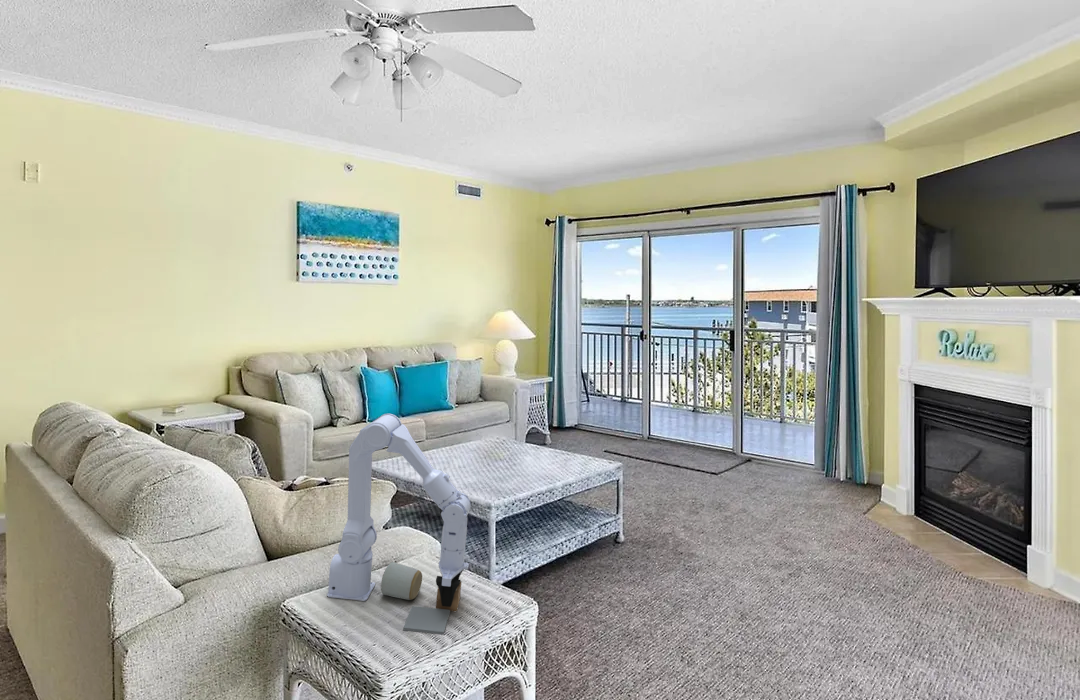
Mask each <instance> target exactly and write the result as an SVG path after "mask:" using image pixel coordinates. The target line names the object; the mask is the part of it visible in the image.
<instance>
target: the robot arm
mask: <svg viewBox="0 0 1080 700" xmlns="http://www.w3.org/2000/svg"><path fill="white" fill-rule="evenodd" d="M387 447H388V448H387ZM384 448H387V449H386V450H385V452H388V453H395V454H400V455H401V456H402V458H404V459H405V460H406V462H407V464H409V465H410V466H411V467H412V469H414V471H416V473H417V474H418V475H419V476H420V477H421V478H422V483H421V485H422V486H421V487H422V488H423V490H424V491H425V492H426V493H427V495H429V497H430V498H431V499H432V501H433V502H434V504H436V506H437V507H438V508H439V509H441V512H440V515H441V518H442V520H443V526H442V533H441V542H440V543H441V545H440V556H439V562H438V569H439V572H440V574H441V575H437V576H436V577H435V585H436V586H437V589H438V588H439V591H440V596H441V603H442V606H446V607H451V605H452V601H453V598H454V594H455V591H456V589H457V587H458V586H459V584H460V581H462V580H461V579H460V577H461V575H462V573H463V571H464V570H468V569H469V563H468V562H465V553H466V543H467V532H468V527H467V526H468V514H469V513H470V510H471V506H472V505H471V500H470V499H469V497H468V495H467V494H466V493H464V492H462V491H461V490H458V489H457V487H455V485H454V484H453V483H452V481H451V480H450V477H451V476H450V475H449V473H447V472H446V473H444V471H443V470H442V469H441V470H440V469H435V468H434V467H433V466H432V464H431V463H430V460H429V459H428V458H427V457H426V455H425V454H424V453H423V451H422V449H421V448H420V447H419V445H418V443H416V442H415V440H414V438H413V437H412V435H411V433H410V431H409V429H408V428H407V426H406V425H405V424H404V423H402V421H401V419H400V418H399V417H398V416H397V415H395V414H392V413H384V414H382V415H381V416H378V417H377V418H376V419H374V420H372V422H371V423H369V424H367V425H365V427H363V428H361V429H360V430H359V433H358V434H357V436H356V437H355V439H354V440H353V441H352V443H351V445H350V446H349V449H348V482H347V483H348V485H347V486H348V488H347V489H348V490H347V520H346V523H345V526H344V527H343V531H342V534H341V536H342V537H341V541H340V542H339V545H338V547H337V548H338V549H337V551H338V553H335V554H334V555H333V557H332V559H331V562H330V565H329V571H328V573H329V574H328V586H327V587H328V588H327V589H328V590H327V594H326V597H327V596H328V597H327V598H334V599H342V600H343V599H345V600H352V601H353V600H354V601H362V602H366V601H367V600H368V599H369V597H370V595H371V593H372V592H373V589H374V588H375V586H376V582H371V580H372V568H373V556H374V555H373V550H372V546H373V545H374V544H376V541H377V539H378V534H377V531H376V528H375V525H374V519H373V517H372V516H371V510H372V509H371V508H372V507H371V506H372V504H371V503H372V473H373V472H372V471H373V470H372V469H373V466H372V465H373V454H374V452H377V451H379V450H383V449H384Z"/></svg>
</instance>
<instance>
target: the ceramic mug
mask: <svg viewBox="0 0 1080 700" xmlns="http://www.w3.org/2000/svg"><path fill="white" fill-rule="evenodd" d="M380 582H381V584H380V593H381V595H384V596H389V597H393V598H398V599H403V600H406V601H407V600H409V601H412V600H414V599H415V598H416V597H418V594H419V592H420V590H421V586H422V582H423V573H422V571H421V570H419V569H417V568H415V567H413V566H412V567H411V566H407V565H405V564H402V563H398V562H395V561H391V562H389V563H388V565H387V566H386V567H385V569H384V572H383V575H382V577H381V581H380Z"/></svg>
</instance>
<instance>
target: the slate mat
mask: <svg viewBox="0 0 1080 700" xmlns="http://www.w3.org/2000/svg"><path fill="white" fill-rule="evenodd" d="M410 608H411V609H410V610H409V613H408V614H407V618H406V620H405V622H404V625H403V628H402V631H409V632H418V633H424V634H425V633H427V634H436V635H442V636H443V635H444V634H445V631H446V627H447V624H448V621H449V616H450V614H451V611H450V610H447V609H438V608H436V607H429V606H428V607H426V606H417V605H412V606H411V607H410Z"/></svg>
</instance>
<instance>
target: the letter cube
mask: <svg viewBox="0 0 1080 700" xmlns="http://www.w3.org/2000/svg"><path fill="white" fill-rule="evenodd" d="M461 590H462V580H461V581H460V584H459V586H458V587H457V589H456V591H455V594H454V598H453V601H452V605H451V607H446V606H442V603H441V596H440V591H439V588H438V587H437V591H436V602H435V603H436V604H435V608H438V609H447V610H450V612H454V611H457V612H458V609H459V606H460V605H459V604H460V602H459V601H460V600H461V593H462V591H461ZM457 608H458V609H457Z"/></svg>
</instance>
